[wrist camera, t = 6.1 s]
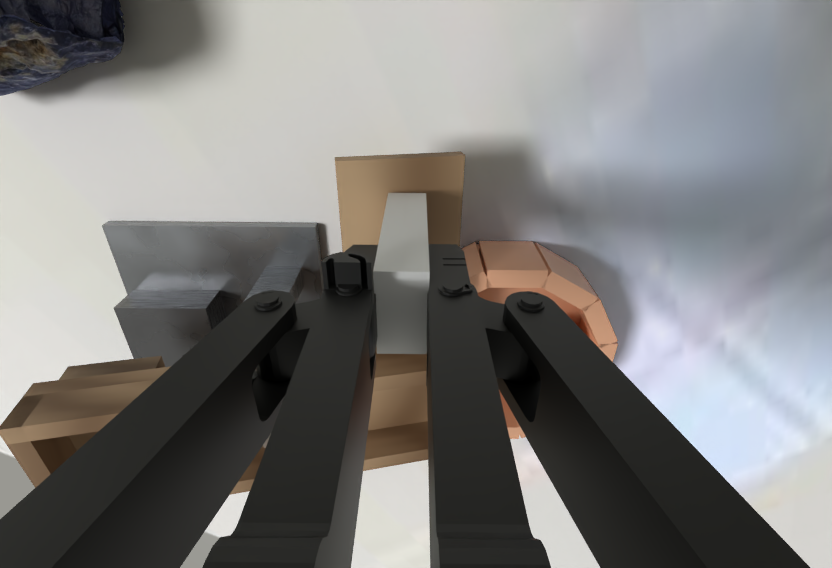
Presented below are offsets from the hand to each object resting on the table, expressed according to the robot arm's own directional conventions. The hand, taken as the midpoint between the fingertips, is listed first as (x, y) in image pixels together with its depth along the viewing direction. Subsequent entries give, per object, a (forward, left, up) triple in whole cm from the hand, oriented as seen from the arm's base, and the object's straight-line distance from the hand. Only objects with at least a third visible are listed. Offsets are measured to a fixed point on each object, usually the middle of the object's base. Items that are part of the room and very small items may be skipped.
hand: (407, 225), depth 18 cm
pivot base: (+9, -11, -6) cm, 16 cm away
